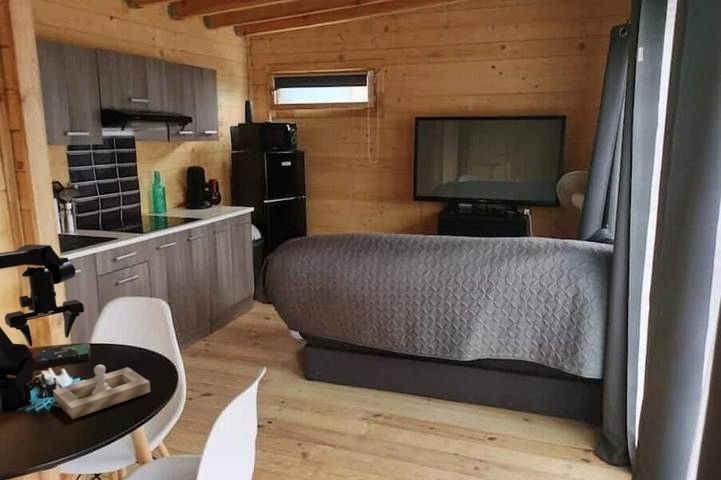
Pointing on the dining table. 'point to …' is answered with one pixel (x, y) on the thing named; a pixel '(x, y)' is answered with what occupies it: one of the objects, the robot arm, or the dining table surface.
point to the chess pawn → (100, 380)
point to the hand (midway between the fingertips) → (49, 341)
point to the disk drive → (63, 355)
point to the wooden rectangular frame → (92, 403)
